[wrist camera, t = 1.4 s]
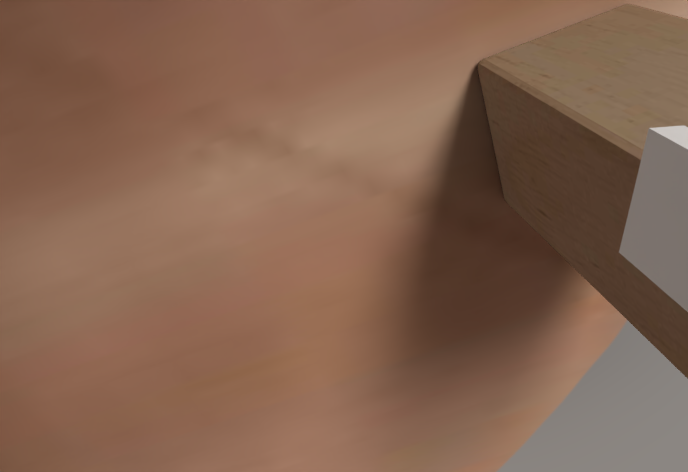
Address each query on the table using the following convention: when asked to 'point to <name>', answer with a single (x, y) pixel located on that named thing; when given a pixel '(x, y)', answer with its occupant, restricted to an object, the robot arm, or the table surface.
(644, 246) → the robot arm
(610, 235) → the wooden block
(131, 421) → the table surface
